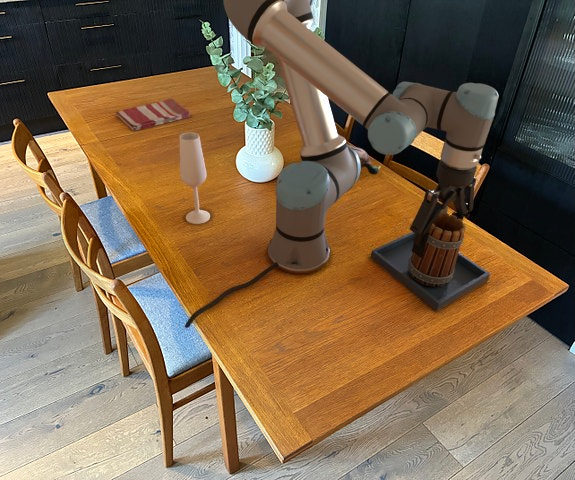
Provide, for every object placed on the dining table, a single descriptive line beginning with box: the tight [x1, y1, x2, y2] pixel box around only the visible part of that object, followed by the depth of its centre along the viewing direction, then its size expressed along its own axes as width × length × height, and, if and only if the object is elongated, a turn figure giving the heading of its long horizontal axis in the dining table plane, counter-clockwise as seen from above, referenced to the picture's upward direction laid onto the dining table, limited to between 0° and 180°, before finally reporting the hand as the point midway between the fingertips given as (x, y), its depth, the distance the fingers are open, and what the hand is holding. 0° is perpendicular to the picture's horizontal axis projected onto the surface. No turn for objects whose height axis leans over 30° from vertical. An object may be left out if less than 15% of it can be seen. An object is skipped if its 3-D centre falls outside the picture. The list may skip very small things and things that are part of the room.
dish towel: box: [115, 98, 191, 131], centre depth 178 cm, size 17×23×3 cm
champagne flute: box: [179, 131, 211, 225], centre depth 121 cm, size 7×7×24 cm
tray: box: [370, 231, 491, 312], centre depth 113 cm, size 18×22×2 cm
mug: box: [408, 206, 466, 287], centre depth 109 cm, size 16×11×15 cm
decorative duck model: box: [346, 141, 382, 175], centre depth 147 cm, size 15×8×15 cm
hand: (434, 245), depth 109 cm, fingers closed on mug, 11 cm apart
